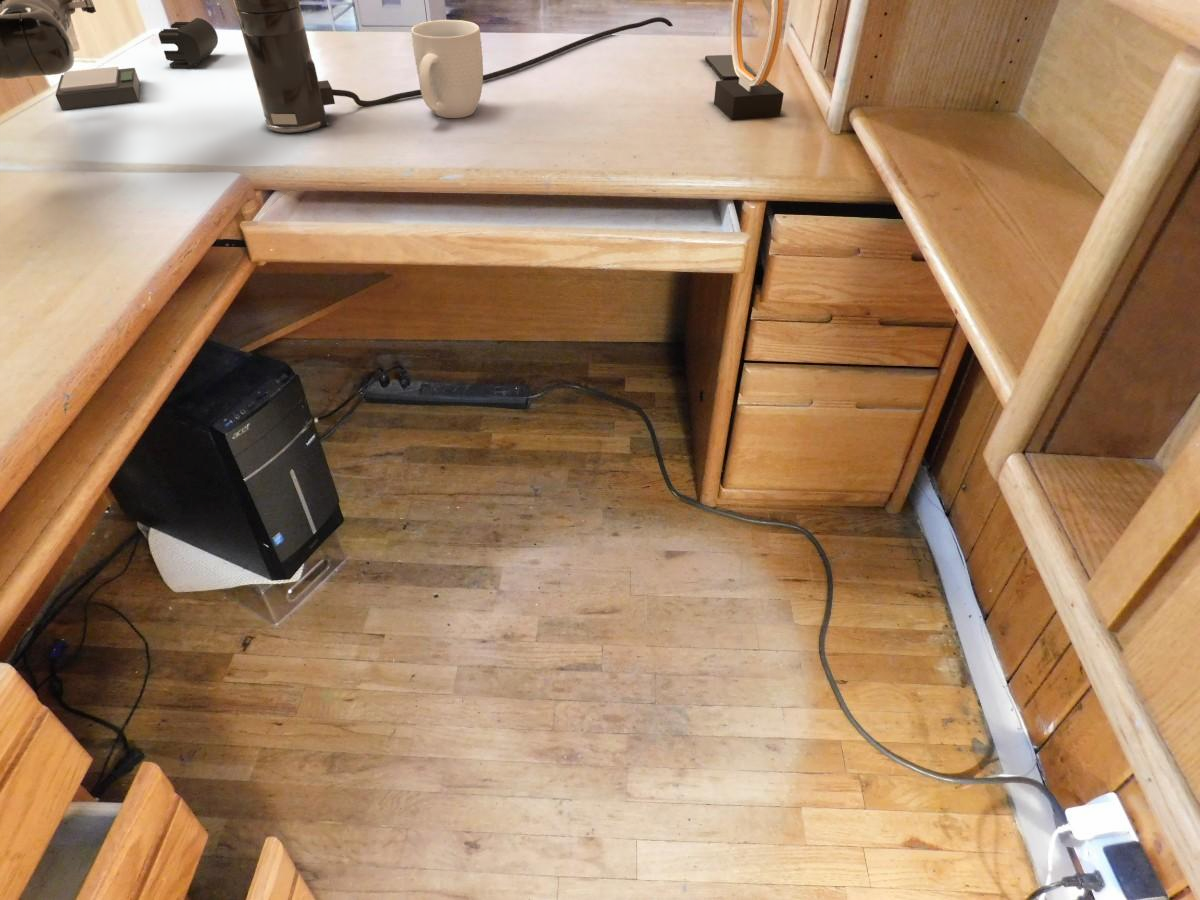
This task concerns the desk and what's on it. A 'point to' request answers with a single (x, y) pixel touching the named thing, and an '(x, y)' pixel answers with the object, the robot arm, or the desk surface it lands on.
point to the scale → (97, 87)
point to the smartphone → (725, 66)
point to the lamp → (751, 92)
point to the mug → (449, 66)
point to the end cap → (189, 42)
